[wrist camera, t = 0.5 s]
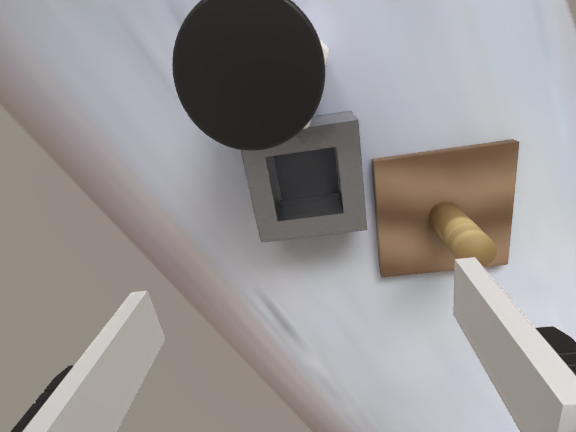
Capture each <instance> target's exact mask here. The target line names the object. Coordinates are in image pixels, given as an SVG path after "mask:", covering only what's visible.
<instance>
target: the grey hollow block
mask: <svg viewBox="0 0 576 432" xmlns="http://www.w3.org/2000/svg"><path fill="white" fill-rule="evenodd" d="M331 147H334V150H335V159H336V168H337V177H338V186H339V193H331V194H323V195H316V196H308V197H301V198H293V199H286V200H282V198H281V193H280V187H279V182H278V176H277V170H276V165H275V159H274V156H277V155H284V154H290V153H297V152H304V151H311V150H318V149H325V148H331ZM241 152H242V157H243V162H244V166H245V171H246V176H247V180H248V185H249V190H250V194H251V199H252V203H253V208H254V213H255V217H256V222H257V227H258V231H259V236H260V241H261V242H269V241H278V240H286V239H294V238H303V237H311V236H320V235H328V234H337V233H345V232H353V231H362V230H367V221H366V209H365V197H364V185H363V172H362V160H361V148H360V136H359V124H358V119H357V118H356V116H355V115H354V114H353V113H352V112H351V111H346V112H340V113H334V114H327V115H321V116H315V117H312V118H311V122H310V125H309V127H308V128H306V129H302V130H301V131H300V132H299V133H298V134H297V135H296V136H294V137H293V138H292V139H290V140H288V141H287V142H285V143H283V144H281V145H279V146H276V147H273V148H269V149H265V150H257V151H248V150H241Z"/></svg>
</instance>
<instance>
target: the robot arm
mask: <svg viewBox="0 0 576 432" xmlns="http://www.w3.org/2000/svg"><path fill="white" fill-rule="evenodd" d="M453 315H454V316H455V318H456V320H457V322H458V323H459V325H460V327H461V329H462V330H463V332H464V334H465V336H466V337H467V339H468V341H469V343H470V344H471V346H472V348H473V350H474V351H475V353H476V355H477V357H478V358H479V360H480V362H481V364H482V365H483V367H484V369H485V371H486V372H487V374H488V376H489V378H490V379H491V381H492V383H493V385H494V386H495V388H496V390H497V392H498V394H499V395H500V397H501V399H502V401H503V402H504V404H505V406H506V408H507V409H508V411H509V413H510V415H511V416H512V418H513V420H514V422H515V423H516V425H517V427H518V429H519V430H520V432H576V342H575V341H574V340H573V339H572V338H571V337H570V336H568V335H566V334H565V333H563V332H561V331H560V330H558V329H557V328H555V327H541V328H535V327H534V326H533V325H532V324H531V322H530V321H529V320H528V319H527V318H526V317H525V315H524V314H523V313H522V312H521V311H520V310H519V308H518V307H517V306H516V305H515V304H514V303H513V301H512V300H511V299H510V298H509V297H508V295H507V294H506V293H505V292H504V291H503V290H502V288H501V287H500V286H499V285H498V284H497V283H496V281H495V280H494V279H493V278H492V277H491V276H490V274H489V273H488V272H487V271H486V270H485V268H484V267H483V266H482V265H481V264H480V263H479V261H478V260H477V259H476V258H475V257H471V258H462V259H455V274H454V308H453ZM164 341H165V337H164V334H163V331H162V329H161V326H160V324H159V320H158V318H157V315H156V312H155V310H154V307H153V304H152V302H151V299H150V296H149V294H148V291H140V292H131V293H130V295H129V296H128V297H127V299H126V300H125V301H124V302H123V304H122V305H121V306H120V307H119V309H118V310H117V311H116V313H115V314H114V315H113V317H112V318H111V319H110V320H109V322H108V323H107V324H106V325H105V327H104V328H103V330H102V331H101V332H100V333H99V334H98V336H97V337H96V338H95V340H94V341H93V342H92V343H91V345H90V346H89V347H88V348H87V350H86V351H85V352H84V354H83V355H82V356H81V358H80V359H79V360H78V361H77V362H76V364H75V365H73V366H68V367H67V368H66V369H65V370H63V371H62V372H61V373H60V374H59V375H57V376H56V377H55V378H54V379H53V380H52V382H51V383H50V384H49V386H47V388H46V389H45V391H44V393H42V394H41V395H40V396H39V398H38V399H37V400H36V403H35V404H33V405H32V406H31V407H30V409H29V410H28V411H27V412H26V414H25V415H24V416H23V417H22V419H21V420H20V421H19V422H18V423H17V425H16V426H15V427H14V428H13V429H12V431H11V432H117V430H118V428H119V426H120V424H121V422H122V421H123V418H124V417H125V415H126V413H127V411H128V409H129V407H130V405H131V403H132V401H133V399H134V398H135V395H136V394H137V392H138V390H139V388H140V386H141V384H142V382H143V381H144V379H145V377H146V375H147V373H148V371H149V369H150V367H151V365H152V363H153V362H154V360H155V358H156V356H157V354H158V352H159V350H160V348H161V346H162V344H163V343H164Z"/></svg>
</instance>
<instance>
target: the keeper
mask: <svg viewBox="0 0 576 432" xmlns="http://www.w3.org/2000/svg"><path fill="white" fill-rule="evenodd" d="M518 150H519V142H518V141H516V140H513V139H512V140H505V141H498V142H491V143H484V144H477V145H470V146H463V147H455V148H448V149H441V150H434V151H427V152H420V153H413V154H406V155H399V156H392V157H384V158H377V159H372V164H373V179H374V193H375V207H376V222H377V236H378V250H379V265H380V273H381V276H382V277H390V276H400V275H410V274H419V273H429V272H439V271H449V270H455V259H462V258H471V257H475V258H476V259H477V260H478V261H479V263H480V264H481V265H482V266H483V267H487V266H497V265H507V264H508V256H509V246H510V235H511V224H512V214H513V203H514V192H515V182H516V171H517V160H518Z"/></svg>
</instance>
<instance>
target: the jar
mask: <svg viewBox="0 0 576 432" xmlns="http://www.w3.org/2000/svg"><path fill="white" fill-rule="evenodd" d="M328 55H329V49H328V47H327V46H326V45H325V44H324V43H323V42H322V41H321V40H320V39H319V37H318V35H317V33H316V30H315V29H314V27H313V25H312V23H311V22H310V20H309V19H308V18H307V16H306V15H305V14H304V13H303V11H302V10H301V9H300V8H299V7H298V6H297V5H296V4H295V3H294V2H293V1H291V0H201V1H200V2H199V3H198V4H197V5H196V6H195V7H194V8H193V9H192V10H191V11H190V13H189V14H188V15H187V17H186V18H185V20H184V22H183V24H182V25H181V27H180V30H179V32H178V35H177V38H176V41H175V45H174V51H173V64H172V66H173V77H174V83H175V87H176V91H177V94H178V97H179V99H180V101H181V103H182V105H183V107H184V109H185V111H186V112H187V114H188V115H189V117H190V118H191V120H192V121H193V122H194V123H195V124H196V125H197V126H198V128H199V129H201V130H202V131H203V132H204V133H205V134H206V135H208V136H209V137H210V138H212V139H214V140H215V141H217V142H219V143H221V144H223V145H226V146H228V147H231V148H235V149H240V150H248V151H257V150H265V149H269V148H273V147H276V146H279V145H281V144H283V143H285V142H287V141H288V140H290V139H292V138H293V137H294V136H296V135H297V134H298V133H299V132H300V131H301V130H302V129H306V128H308V127H309V125H310V122H311V118H312V117H313V115H314V113H315V112H316V110H317V108H318V105H319V103H320V100H321V97H322V93H323V89H324V83H325V66H326V62H327V59H328Z"/></svg>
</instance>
